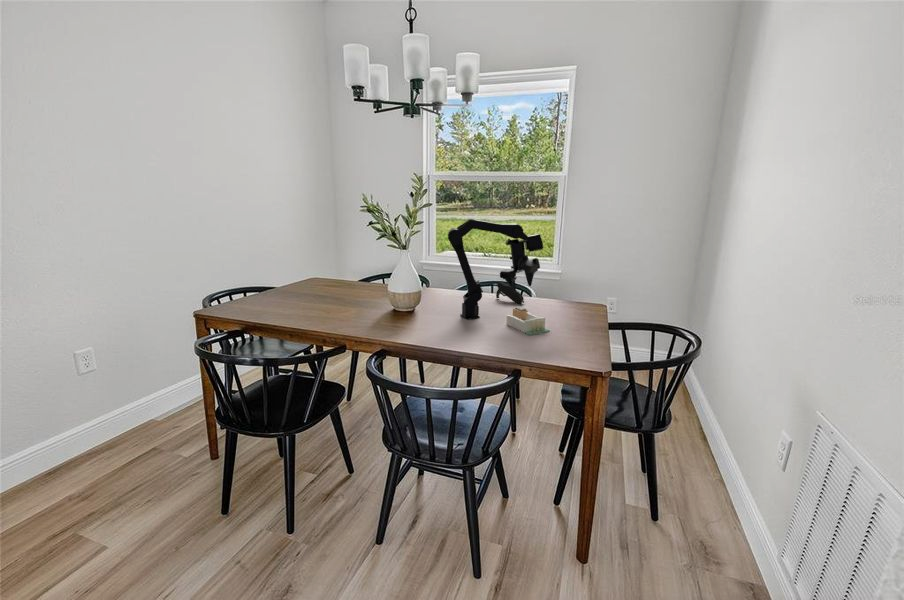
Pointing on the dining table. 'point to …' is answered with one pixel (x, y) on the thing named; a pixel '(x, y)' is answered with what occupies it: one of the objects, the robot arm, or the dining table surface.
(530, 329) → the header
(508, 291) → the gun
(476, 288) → the robot arm
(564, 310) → the dining table surface
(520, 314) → the orange base grey top
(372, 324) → the dining table surface
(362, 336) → the dining table surface
